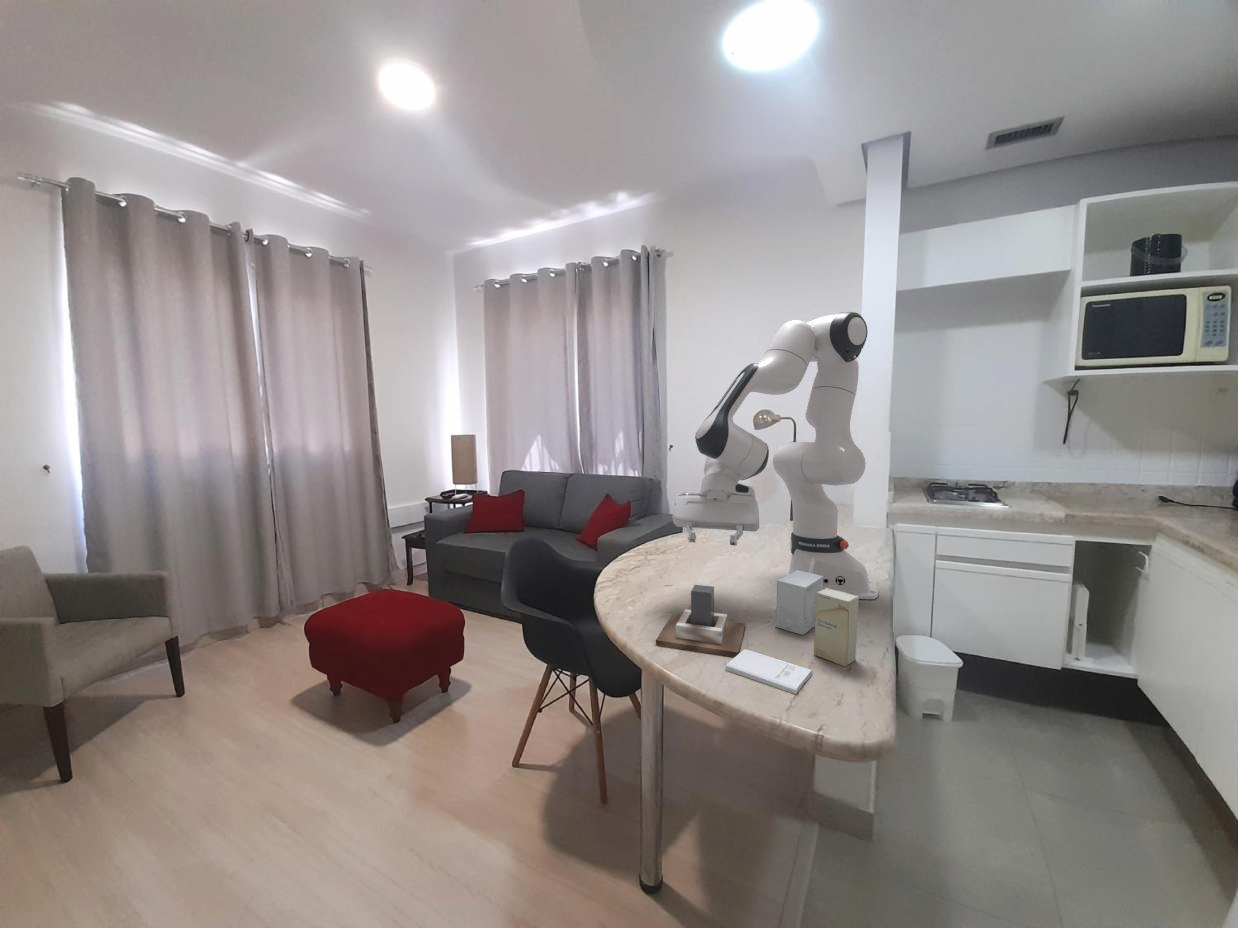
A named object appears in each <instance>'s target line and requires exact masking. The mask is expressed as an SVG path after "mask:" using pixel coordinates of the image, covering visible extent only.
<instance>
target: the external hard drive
mask: <svg viewBox="0 0 1238 928" xmlns="http://www.w3.org/2000/svg"><path fill="white" fill-rule="evenodd" d="M725 671H727V672H729V673H733V674H736V675H739V676H742V677H745V678H747V679H751V680H753V681H756V682H760V683H762V684H765V685H767V686H768V685H769V686H770V687H773V688H776V689H779V690H782V691H786V692H788V693H791V694H794V695H797V694H798V693H799V691H800V690H801V689H802V688H803V686H804V684H805V683H806V682H807V681H808V680H809V679H810V678H811V676H812V675H813V669H811V668H806V667H803V666H800V665H796V664H794V663H792V662H791V663H790V662H787V661H784V660H781V659H778V658H775V657H772V656H769V655H766V654H762V653H759V652H756V651H753V650H750V649H746V648H745V649H743V650H742V651H740V653H739V654H738V655H737V656H736V657H732V659H731V660H730V661H728V662H727V663H726V665H725Z"/></svg>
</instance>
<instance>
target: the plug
mask: <svg viewBox="0 0 1238 928" xmlns="http://www.w3.org/2000/svg"><path fill="white" fill-rule="evenodd" d="M690 610H691V624H693V625H701V626H708V627H714V613H715V586H710V585H700V584H694V585H693V587H692V588H691V591H690Z"/></svg>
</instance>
